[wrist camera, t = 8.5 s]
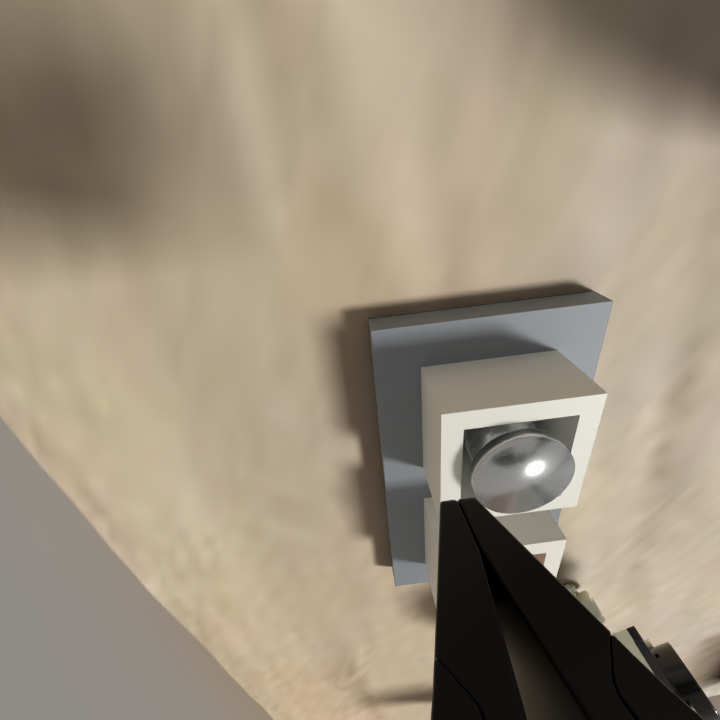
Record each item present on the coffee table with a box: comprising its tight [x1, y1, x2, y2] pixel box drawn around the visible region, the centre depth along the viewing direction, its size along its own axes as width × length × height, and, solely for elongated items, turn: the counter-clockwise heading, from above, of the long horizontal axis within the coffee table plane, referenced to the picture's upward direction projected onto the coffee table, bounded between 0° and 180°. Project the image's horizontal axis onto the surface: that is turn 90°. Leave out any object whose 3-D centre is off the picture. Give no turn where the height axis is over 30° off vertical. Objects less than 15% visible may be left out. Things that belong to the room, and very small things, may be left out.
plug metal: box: [463, 421, 575, 514], centre depth 19 cm, size 5×5×5 cm
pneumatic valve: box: [564, 584, 720, 720], centre depth 29 cm, size 6×12×12 cm, turn 126°
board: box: [368, 291, 613, 607], centre depth 22 cm, size 12×22×6 cm, turn 6°
